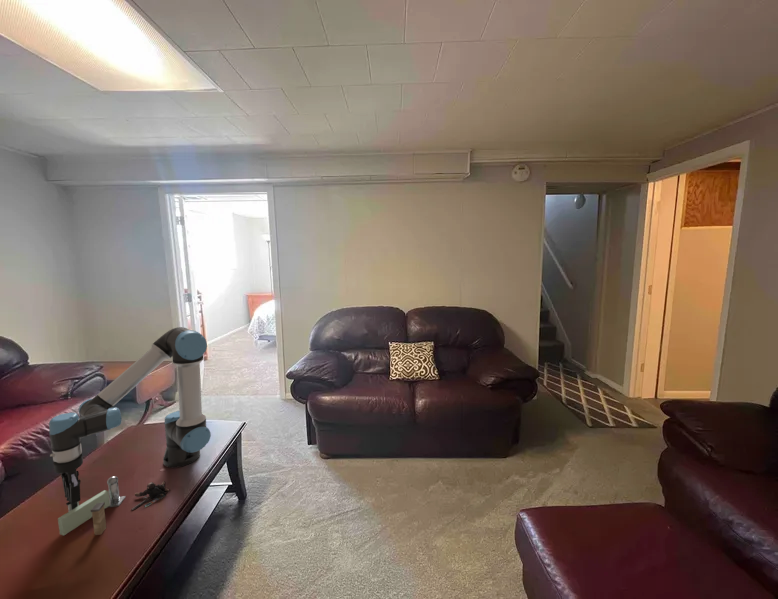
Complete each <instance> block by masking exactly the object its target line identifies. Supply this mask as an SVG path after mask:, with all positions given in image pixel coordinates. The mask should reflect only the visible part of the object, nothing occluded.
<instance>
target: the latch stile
mask: <svg viewBox="0 0 778 599" xmlns="http://www.w3.org/2000/svg"><path fill="white" fill-rule="evenodd" d="M104 505H105V502H102V503H96V505H95V506H94V507H93V508H92V509H91V512H92V517H91V518H92V522H93V523H92V524H93V525H92V526H93V532H94V536H99V535H102V534H103V533H104V532H105V530H106V528H107V523H106V522H107V521H106V514H105V509H104Z"/></svg>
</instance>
